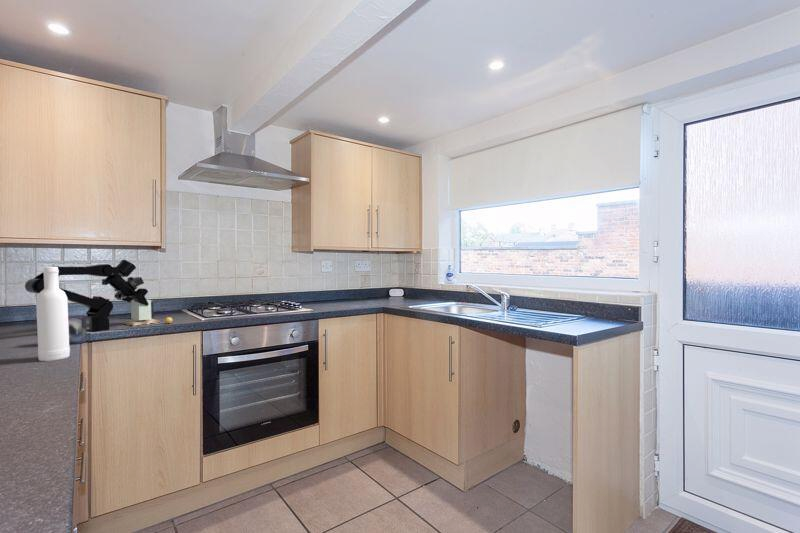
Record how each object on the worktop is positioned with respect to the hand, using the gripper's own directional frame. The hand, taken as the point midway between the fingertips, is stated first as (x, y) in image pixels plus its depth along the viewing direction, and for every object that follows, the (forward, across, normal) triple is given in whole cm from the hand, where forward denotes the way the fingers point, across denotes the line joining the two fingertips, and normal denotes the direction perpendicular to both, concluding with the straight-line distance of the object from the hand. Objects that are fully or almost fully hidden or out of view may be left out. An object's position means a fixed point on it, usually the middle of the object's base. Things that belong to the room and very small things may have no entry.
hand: (143, 304), depth 203 cm
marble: (+9, -14, +4) cm, 17 cm away
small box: (-23, -21, +37) cm, 48 cm away
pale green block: (+4, 0, +6) cm, 7 cm away
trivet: (+6, 0, +7) cm, 9 cm away
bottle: (-33, -44, +47) cm, 72 cm away
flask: (+14, +17, -1) cm, 22 cm away
